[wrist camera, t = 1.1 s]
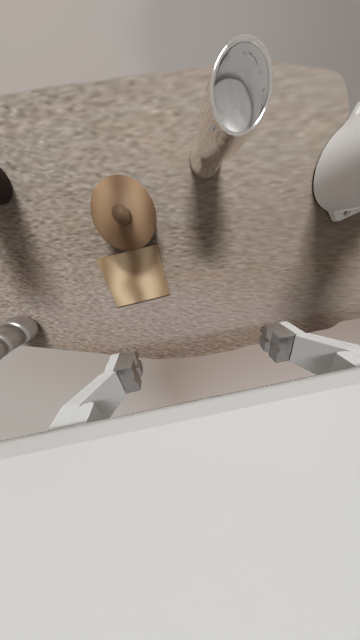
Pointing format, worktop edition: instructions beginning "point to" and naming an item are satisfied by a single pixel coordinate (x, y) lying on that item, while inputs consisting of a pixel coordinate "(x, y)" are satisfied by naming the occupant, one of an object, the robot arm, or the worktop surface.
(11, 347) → the plastic bottle
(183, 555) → the robot arm
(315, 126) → the worktop surface
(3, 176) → the vinegar
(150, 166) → the worktop surface
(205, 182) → the worktop surface
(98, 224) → the lid
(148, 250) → the tan flat square piece
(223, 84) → the beer glass
